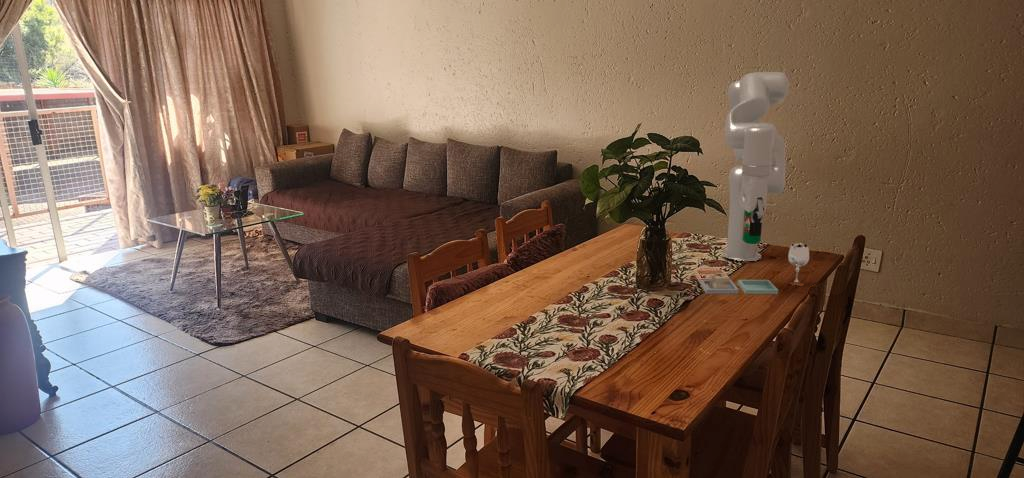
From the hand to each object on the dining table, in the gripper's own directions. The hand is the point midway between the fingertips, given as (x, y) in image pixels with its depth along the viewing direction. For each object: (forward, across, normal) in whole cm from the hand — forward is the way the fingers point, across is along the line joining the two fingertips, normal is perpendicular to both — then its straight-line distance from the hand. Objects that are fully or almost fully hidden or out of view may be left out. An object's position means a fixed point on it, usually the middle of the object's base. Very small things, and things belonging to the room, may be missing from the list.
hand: (751, 232), depth 191 cm
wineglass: (+17, -3, +15) cm, 23 cm away
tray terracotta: (+17, -8, -9) cm, 21 cm away
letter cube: (+16, +2, -9) cm, 19 cm away
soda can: (+3, 0, 0) cm, 3 cm away
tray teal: (+17, +3, +2) cm, 17 cm away
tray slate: (+17, +2, -9) cm, 19 cm away
